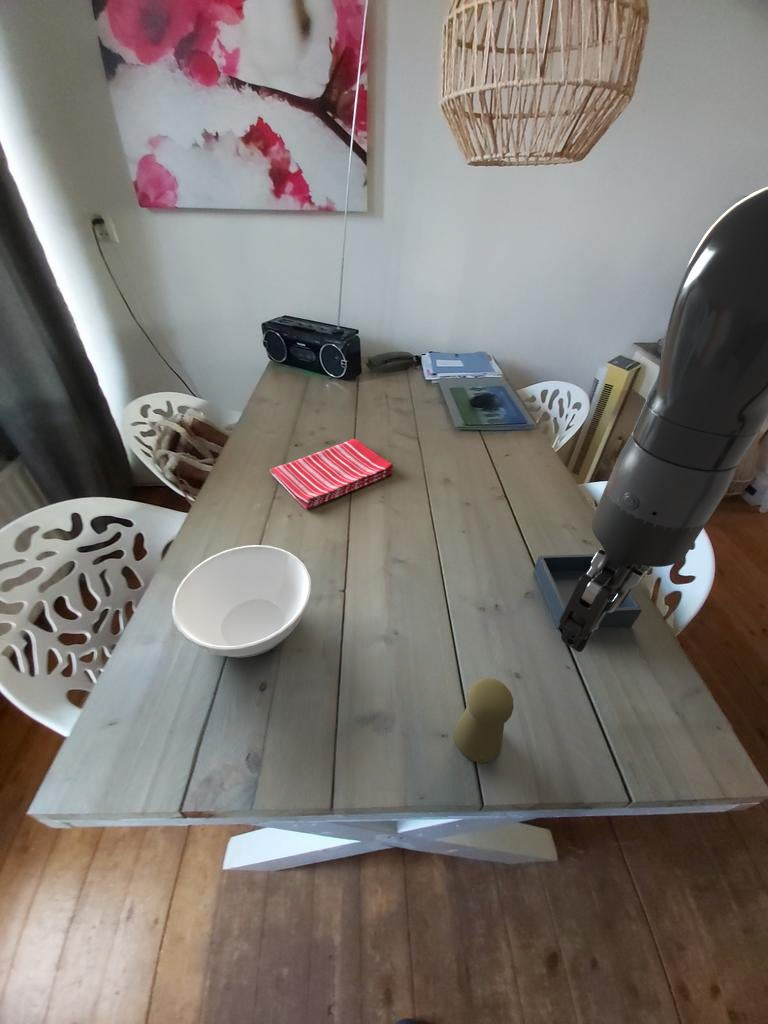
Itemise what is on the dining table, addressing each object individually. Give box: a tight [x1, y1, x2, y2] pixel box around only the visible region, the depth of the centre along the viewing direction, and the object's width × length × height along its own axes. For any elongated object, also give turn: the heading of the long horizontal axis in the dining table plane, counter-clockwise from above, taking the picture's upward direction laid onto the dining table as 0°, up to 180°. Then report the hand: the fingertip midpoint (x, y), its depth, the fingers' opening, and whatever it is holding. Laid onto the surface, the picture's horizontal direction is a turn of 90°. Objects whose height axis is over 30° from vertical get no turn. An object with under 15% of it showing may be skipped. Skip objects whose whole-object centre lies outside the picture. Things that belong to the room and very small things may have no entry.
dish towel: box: [269, 438, 394, 511], centre depth 101 cm, size 17×24×3 cm
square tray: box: [532, 553, 643, 630], centre depth 73 cm, size 12×12×4 cm
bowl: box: [171, 544, 312, 659], centre depth 66 cm, size 19×19×8 cm
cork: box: [453, 677, 515, 764], centre depth 53 cm, size 6×6×11 cm
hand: (592, 620), depth 45 cm, fingers open, 8 cm apart
